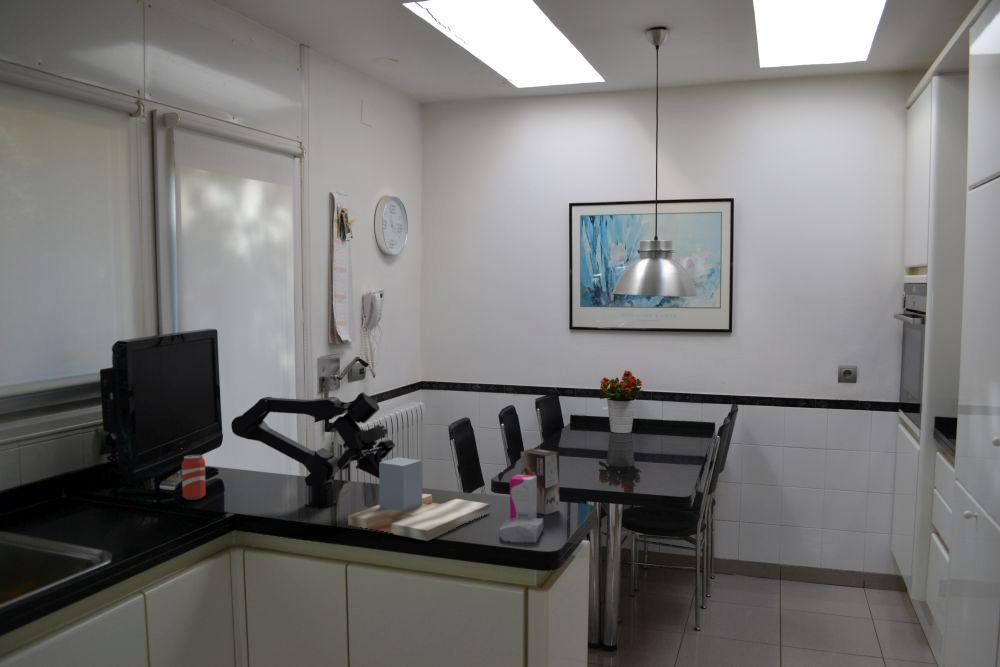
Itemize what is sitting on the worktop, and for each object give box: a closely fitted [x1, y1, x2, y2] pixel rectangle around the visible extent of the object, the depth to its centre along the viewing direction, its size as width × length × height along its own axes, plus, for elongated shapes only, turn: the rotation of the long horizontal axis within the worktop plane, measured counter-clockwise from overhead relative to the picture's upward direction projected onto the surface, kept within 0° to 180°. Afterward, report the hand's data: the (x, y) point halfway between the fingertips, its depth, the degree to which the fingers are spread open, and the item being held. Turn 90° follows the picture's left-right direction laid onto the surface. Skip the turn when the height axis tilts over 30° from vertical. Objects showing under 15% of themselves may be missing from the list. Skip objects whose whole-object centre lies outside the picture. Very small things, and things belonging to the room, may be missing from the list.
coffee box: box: [520, 448, 560, 515], centre depth 218 cm, size 9×6×16 cm
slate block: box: [378, 456, 423, 512], centre depth 212 cm, size 8×8×12 cm
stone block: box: [499, 516, 544, 544], centre depth 195 cm, size 12×5×10 cm
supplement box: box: [509, 474, 538, 519], centre depth 208 cm, size 6×6×12 cm
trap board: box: [347, 492, 491, 542], centre depth 209 cm, size 25×28×2 cm
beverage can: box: [181, 454, 206, 501], centre depth 231 cm, size 6×6×12 cm
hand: (383, 478), depth 215 cm, fingers closed
